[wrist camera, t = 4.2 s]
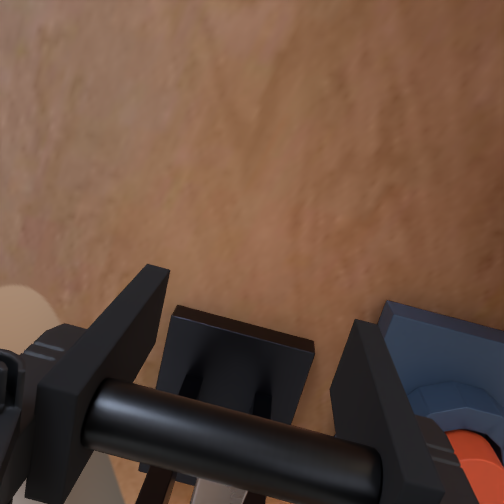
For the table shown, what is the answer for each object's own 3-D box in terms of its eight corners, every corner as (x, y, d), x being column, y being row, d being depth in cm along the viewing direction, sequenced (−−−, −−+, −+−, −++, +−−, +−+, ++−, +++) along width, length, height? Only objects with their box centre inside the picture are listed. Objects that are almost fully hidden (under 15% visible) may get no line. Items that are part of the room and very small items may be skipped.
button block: (386, 299, 24) (403, 335, 21) (565, 347, 24) (615, 391, 21) (321, 469, 28) (326, 525, 24) (476, 510, 28) (505, 572, 24)
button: (434, 420, 22) (448, 450, 20) (505, 439, 22) (525, 471, 20) (409, 475, 24) (419, 509, 22) (476, 493, 24) (492, 528, 22)
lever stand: (177, 304, 26) (57, 513, 12) (314, 340, 26) (337, 587, 12) (144, 454, 29) (25, 740, 16) (265, 486, 29) (243, 799, 16)
